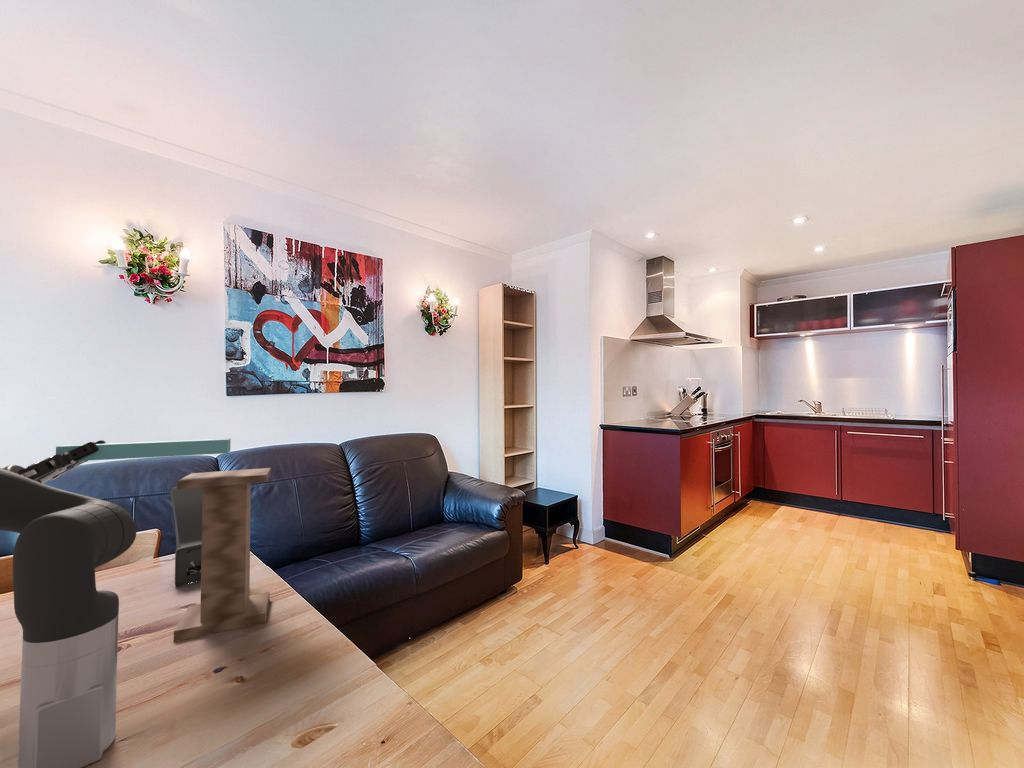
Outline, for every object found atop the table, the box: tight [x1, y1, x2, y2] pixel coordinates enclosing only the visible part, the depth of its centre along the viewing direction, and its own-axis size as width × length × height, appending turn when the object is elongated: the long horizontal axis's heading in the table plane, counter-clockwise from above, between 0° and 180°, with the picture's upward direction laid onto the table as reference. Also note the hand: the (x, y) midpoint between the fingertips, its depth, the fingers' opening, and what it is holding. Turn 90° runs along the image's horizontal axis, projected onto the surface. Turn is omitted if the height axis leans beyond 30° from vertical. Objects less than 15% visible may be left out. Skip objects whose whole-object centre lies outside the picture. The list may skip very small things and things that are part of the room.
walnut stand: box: [173, 467, 272, 642], centre depth 95 cm, size 16×12×32 cm
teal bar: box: [55, 438, 232, 462], centre depth 90 cm, size 28×4×3 cm, turn 116°
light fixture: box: [169, 486, 203, 588], centre depth 122 cm, size 11×17×24 cm, turn 48°
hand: (100, 444), depth 87 cm, fingers closed on teal bar, 4 cm apart
